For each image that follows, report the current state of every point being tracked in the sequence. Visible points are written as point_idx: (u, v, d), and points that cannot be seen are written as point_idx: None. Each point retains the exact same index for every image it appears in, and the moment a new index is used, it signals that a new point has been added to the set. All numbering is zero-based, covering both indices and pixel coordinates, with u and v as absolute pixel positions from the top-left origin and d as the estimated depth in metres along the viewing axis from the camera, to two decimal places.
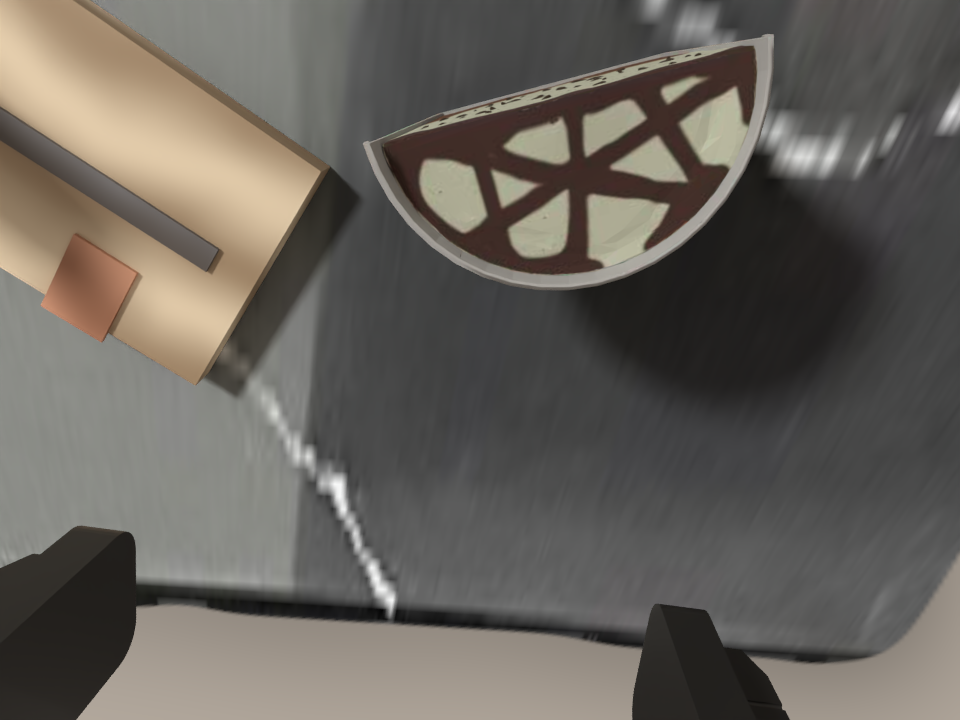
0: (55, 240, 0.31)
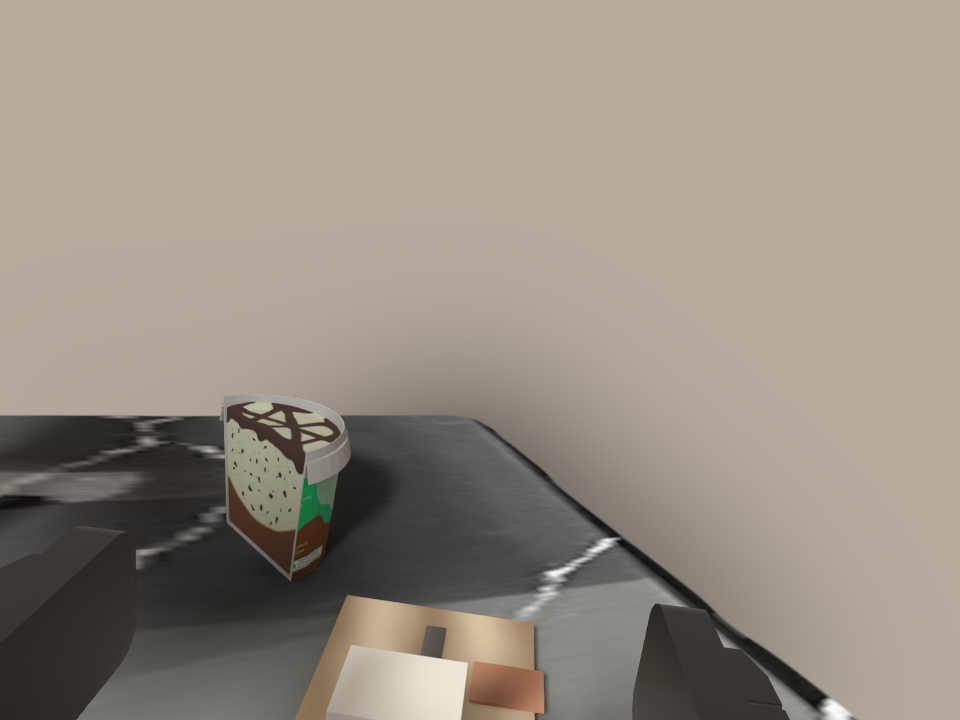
0: (484, 714, 0.37)
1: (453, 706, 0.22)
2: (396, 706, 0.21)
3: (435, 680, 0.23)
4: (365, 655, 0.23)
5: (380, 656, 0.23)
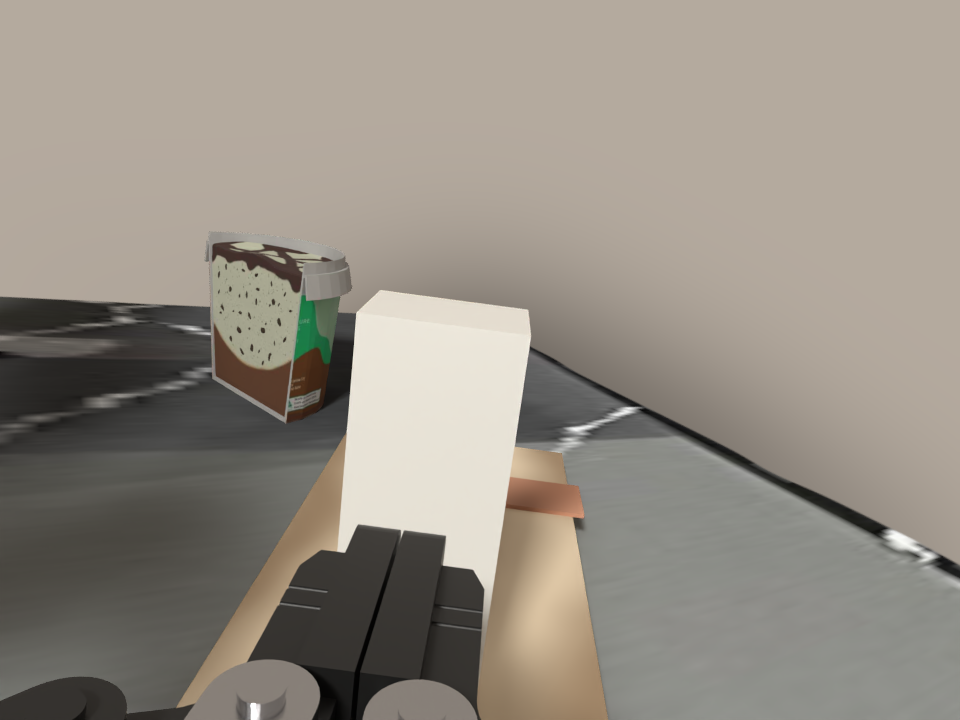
0: (516, 515, 0.32)
1: (517, 325, 0.17)
2: (446, 318, 0.17)
3: (491, 312, 0.18)
4: (399, 296, 0.18)
5: (418, 297, 0.19)
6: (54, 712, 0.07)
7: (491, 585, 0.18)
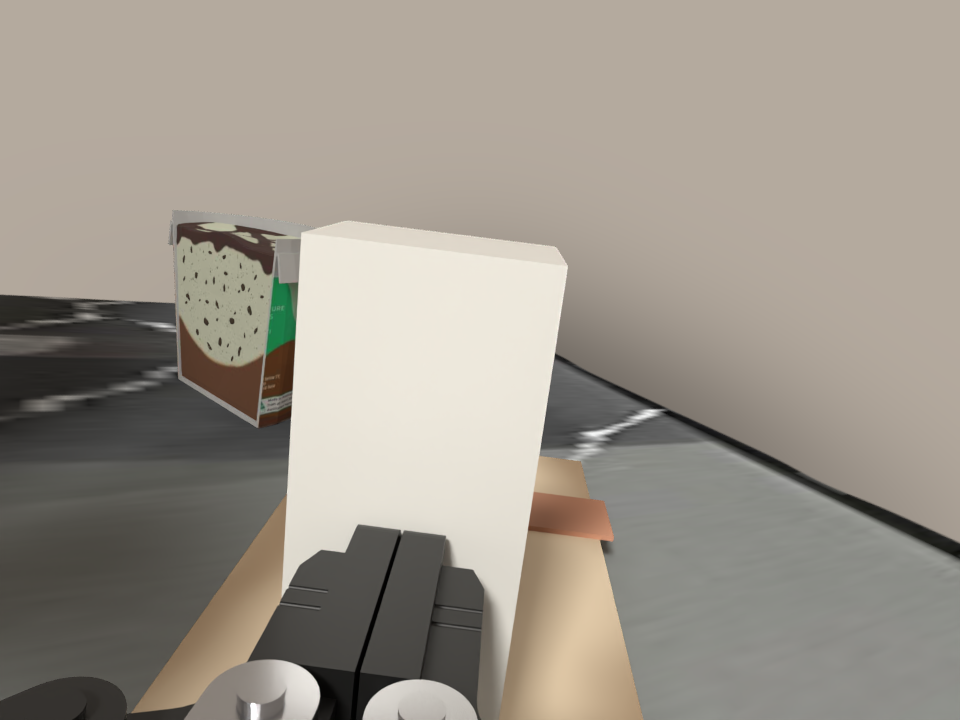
0: (530, 539, 0.26)
1: (545, 256, 0.11)
2: (438, 245, 0.11)
3: (504, 245, 0.12)
4: (372, 225, 0.13)
5: (399, 228, 0.13)
6: (55, 712, 0.07)
7: (507, 642, 0.12)
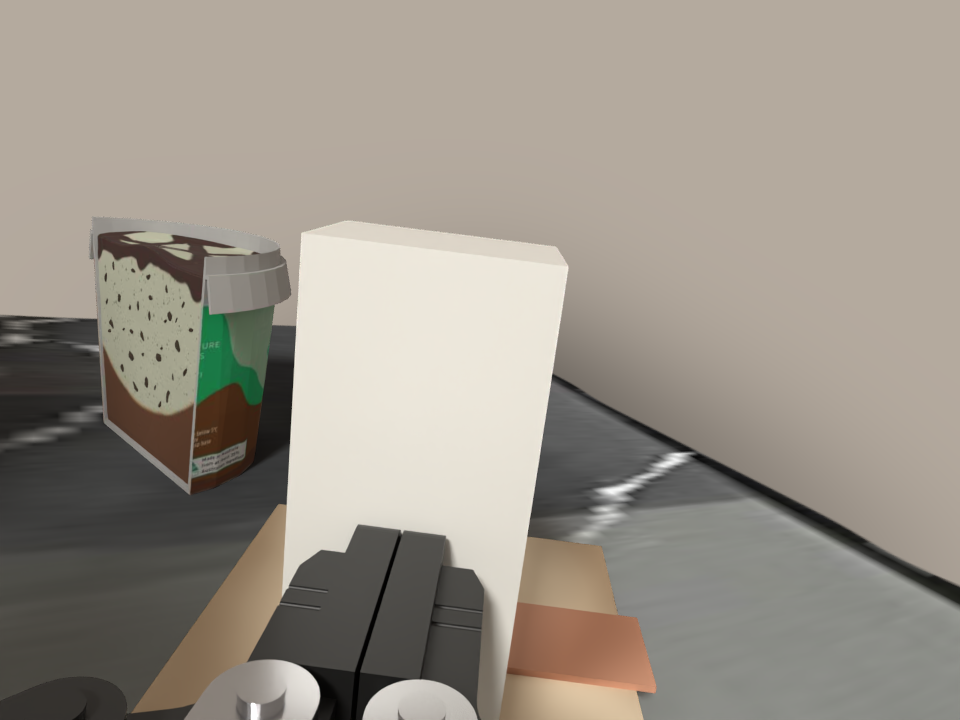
0: (537, 694, 0.18)
1: (546, 257, 0.11)
2: (439, 245, 0.11)
3: (505, 245, 0.12)
4: (372, 225, 0.13)
5: (400, 228, 0.13)
6: (54, 712, 0.07)
7: (508, 643, 0.12)
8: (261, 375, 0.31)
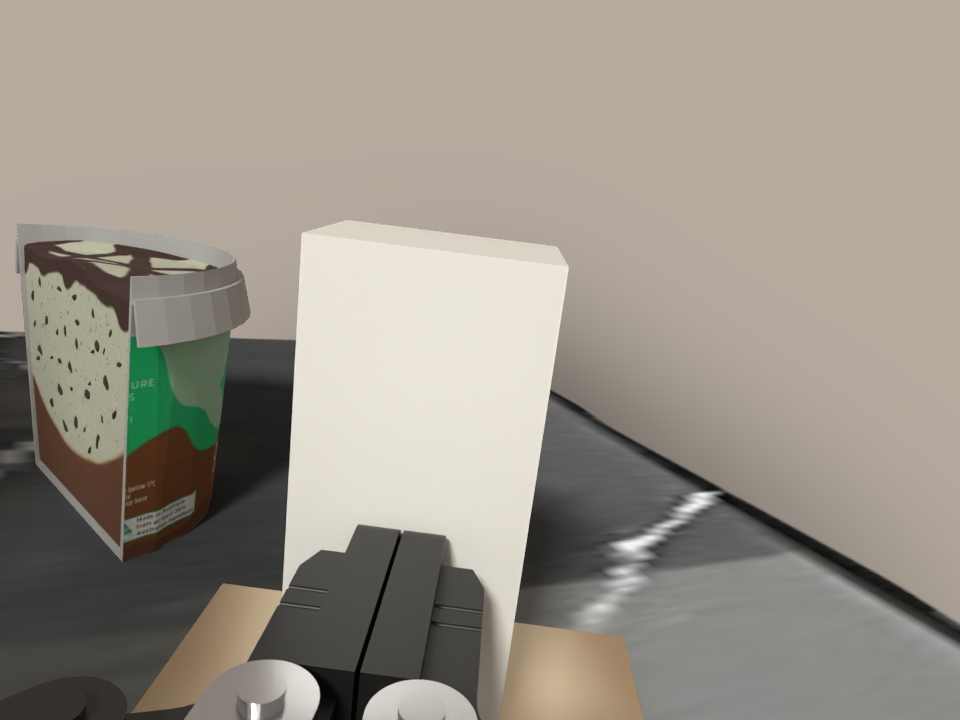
0: None
1: (546, 257, 0.11)
2: (439, 245, 0.11)
3: (505, 245, 0.12)
4: (373, 225, 0.13)
5: (400, 228, 0.13)
6: (55, 712, 0.07)
7: (508, 642, 0.12)
8: (213, 414, 0.26)
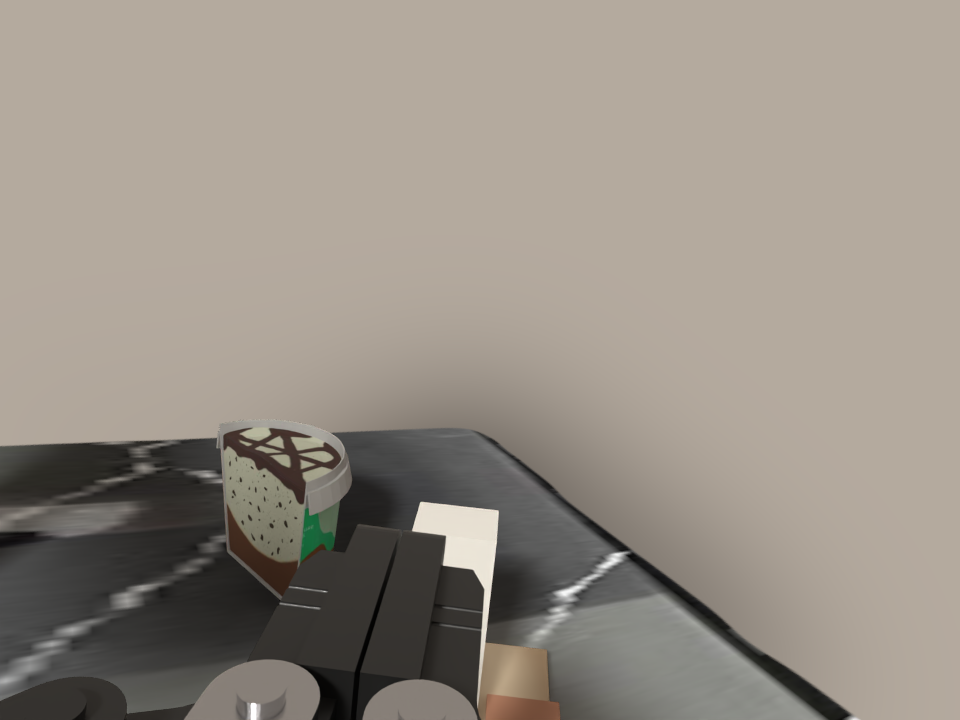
0: None
1: (491, 530, 0.34)
2: (455, 529, 0.34)
3: (478, 518, 0.35)
4: (430, 507, 0.36)
5: (440, 507, 0.36)
6: (54, 713, 0.07)
7: (482, 658, 0.35)
8: (334, 531, 0.49)
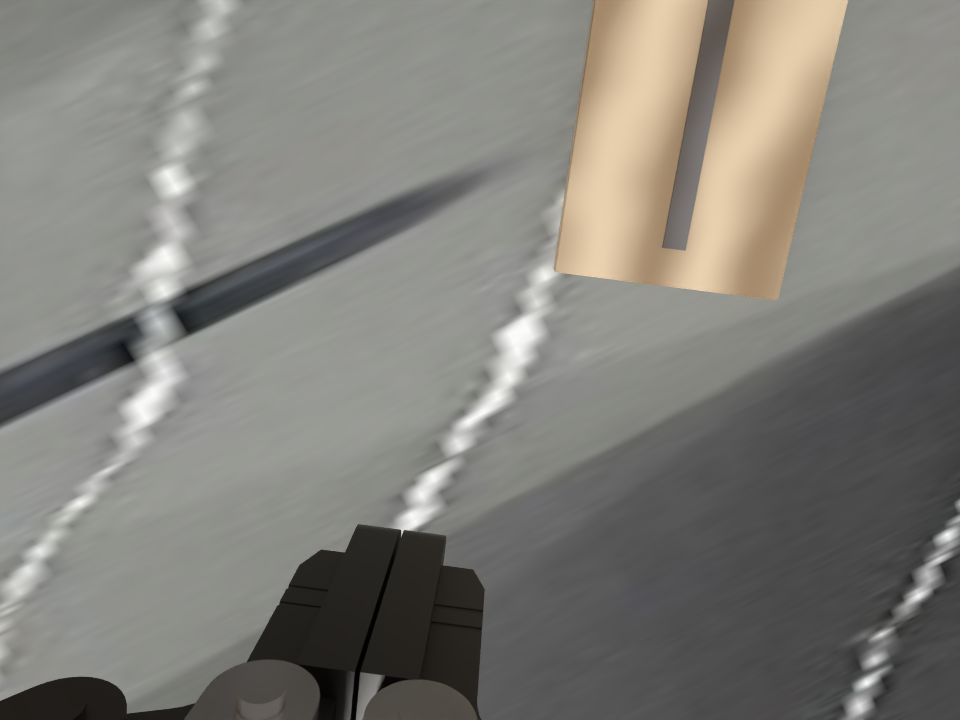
0: None
1: None
2: None
3: None
4: None
5: None
6: (55, 712, 0.07)
7: None
8: None
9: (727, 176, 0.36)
